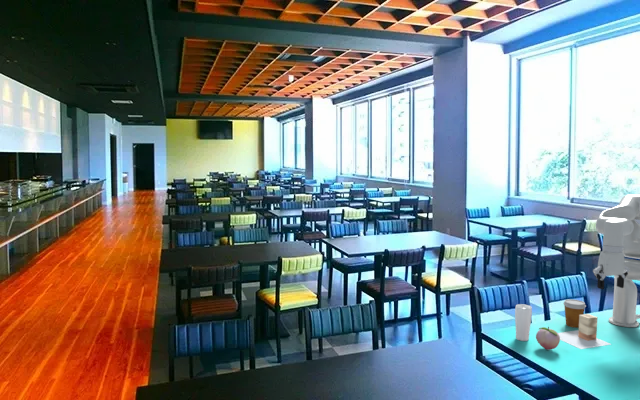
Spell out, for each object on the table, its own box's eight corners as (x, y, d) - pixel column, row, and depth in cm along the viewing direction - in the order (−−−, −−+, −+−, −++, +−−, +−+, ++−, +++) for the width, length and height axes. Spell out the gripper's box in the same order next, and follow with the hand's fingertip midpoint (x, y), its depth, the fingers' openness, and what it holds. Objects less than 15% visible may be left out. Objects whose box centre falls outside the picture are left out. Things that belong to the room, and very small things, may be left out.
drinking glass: (532, 339, 223) (534, 306, 222) (527, 343, 218) (528, 309, 217) (517, 335, 228) (519, 303, 226) (511, 339, 223) (512, 306, 221)
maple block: (586, 335, 226) (588, 313, 225) (596, 339, 222) (597, 317, 221) (578, 336, 225) (579, 314, 224) (587, 340, 220) (588, 318, 219)
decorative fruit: (564, 351, 210) (565, 327, 209) (552, 355, 205) (554, 331, 204) (543, 344, 217) (544, 321, 216) (531, 348, 213) (532, 325, 212)
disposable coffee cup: (588, 330, 235) (590, 305, 234) (568, 329, 235) (569, 304, 234) (578, 323, 244) (579, 299, 243) (558, 323, 245) (559, 298, 243)
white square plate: (577, 331, 233) (577, 330, 233) (611, 345, 216) (611, 344, 216) (548, 335, 228) (548, 334, 227) (580, 350, 211) (580, 349, 211)
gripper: (623, 246, 222) (621, 284, 224) (588, 248, 219) (586, 286, 221) (636, 249, 215) (634, 289, 217) (601, 251, 211) (599, 291, 213)
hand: (610, 287), depth 219 cm, fingers open, 9 cm apart
